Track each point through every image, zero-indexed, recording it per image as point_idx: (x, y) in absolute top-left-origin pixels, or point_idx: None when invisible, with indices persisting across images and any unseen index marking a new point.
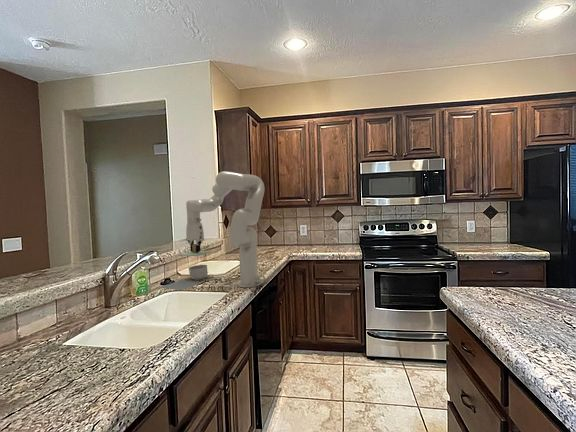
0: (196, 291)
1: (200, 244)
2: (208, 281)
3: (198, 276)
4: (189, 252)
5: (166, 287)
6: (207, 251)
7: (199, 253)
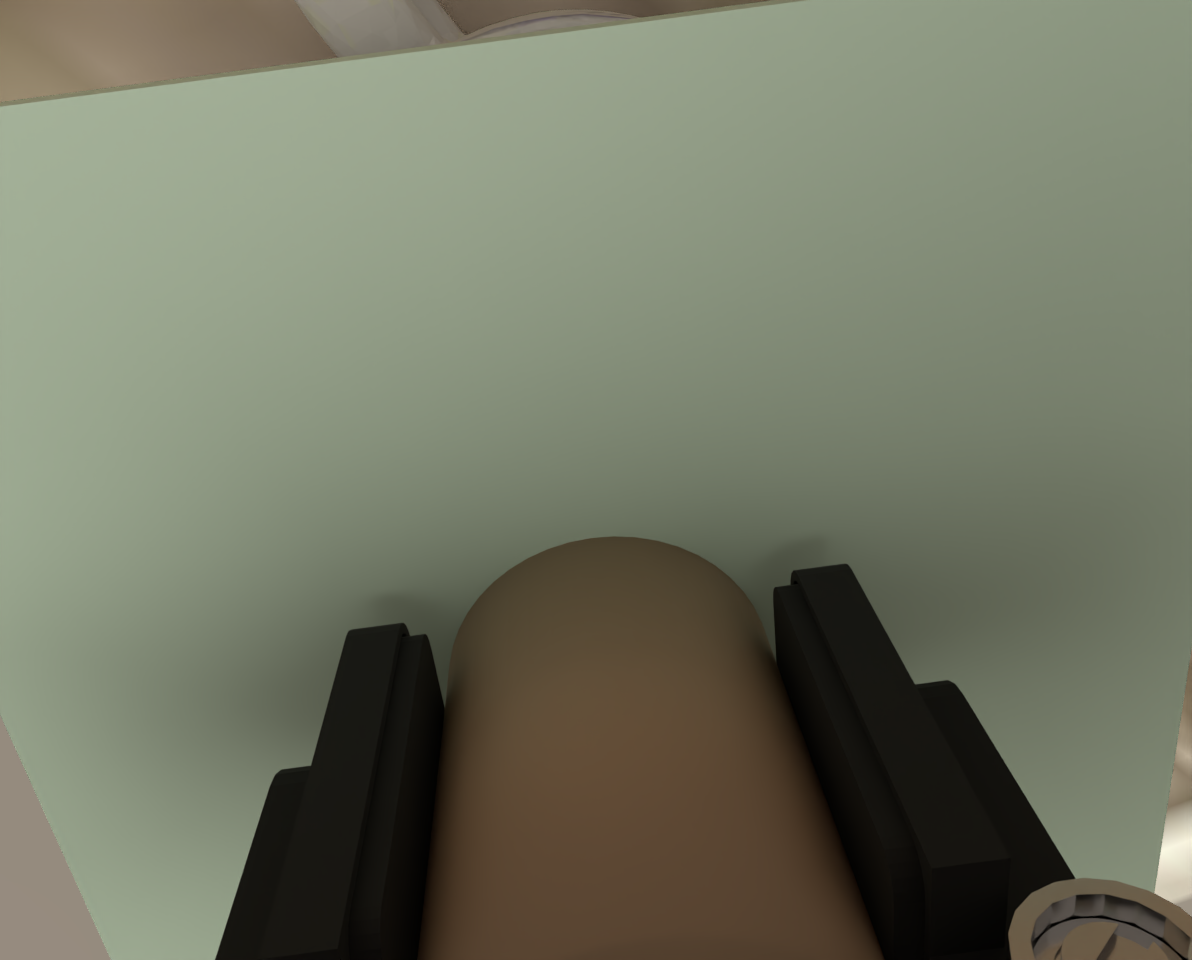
0: (1177, 811)
1: (1142, 939)
2: None
3: None
4: (201, 757)
5: None
6: (1050, 117)
7: (1027, 762)
